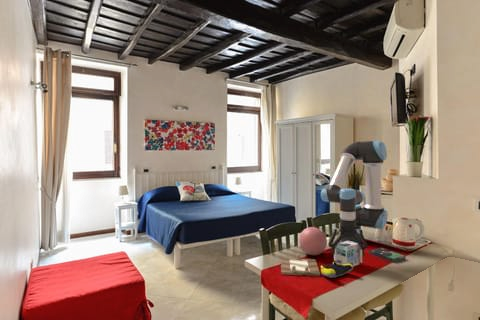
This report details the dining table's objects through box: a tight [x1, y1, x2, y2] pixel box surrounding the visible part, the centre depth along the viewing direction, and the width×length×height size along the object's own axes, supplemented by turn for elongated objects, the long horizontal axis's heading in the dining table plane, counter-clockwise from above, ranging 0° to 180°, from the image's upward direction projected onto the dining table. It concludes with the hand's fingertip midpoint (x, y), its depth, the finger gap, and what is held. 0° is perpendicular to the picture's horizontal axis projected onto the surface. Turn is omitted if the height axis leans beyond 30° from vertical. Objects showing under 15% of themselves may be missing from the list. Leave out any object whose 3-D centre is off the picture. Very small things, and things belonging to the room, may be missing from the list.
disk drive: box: [368, 247, 406, 264], centre depth 153 cm, size 10×3×15 cm
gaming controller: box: [320, 261, 354, 279], centre depth 130 cm, size 15×6×10 cm
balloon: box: [298, 226, 328, 256], centre depth 158 cm, size 15×20×15 cm
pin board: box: [280, 253, 321, 277], centre depth 139 cm, size 18×18×4 cm
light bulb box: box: [335, 241, 360, 267], centre depth 142 cm, size 11×7×11 cm, turn 123°
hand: (347, 260), depth 142 cm, fingers closed on light bulb box, 12 cm apart
